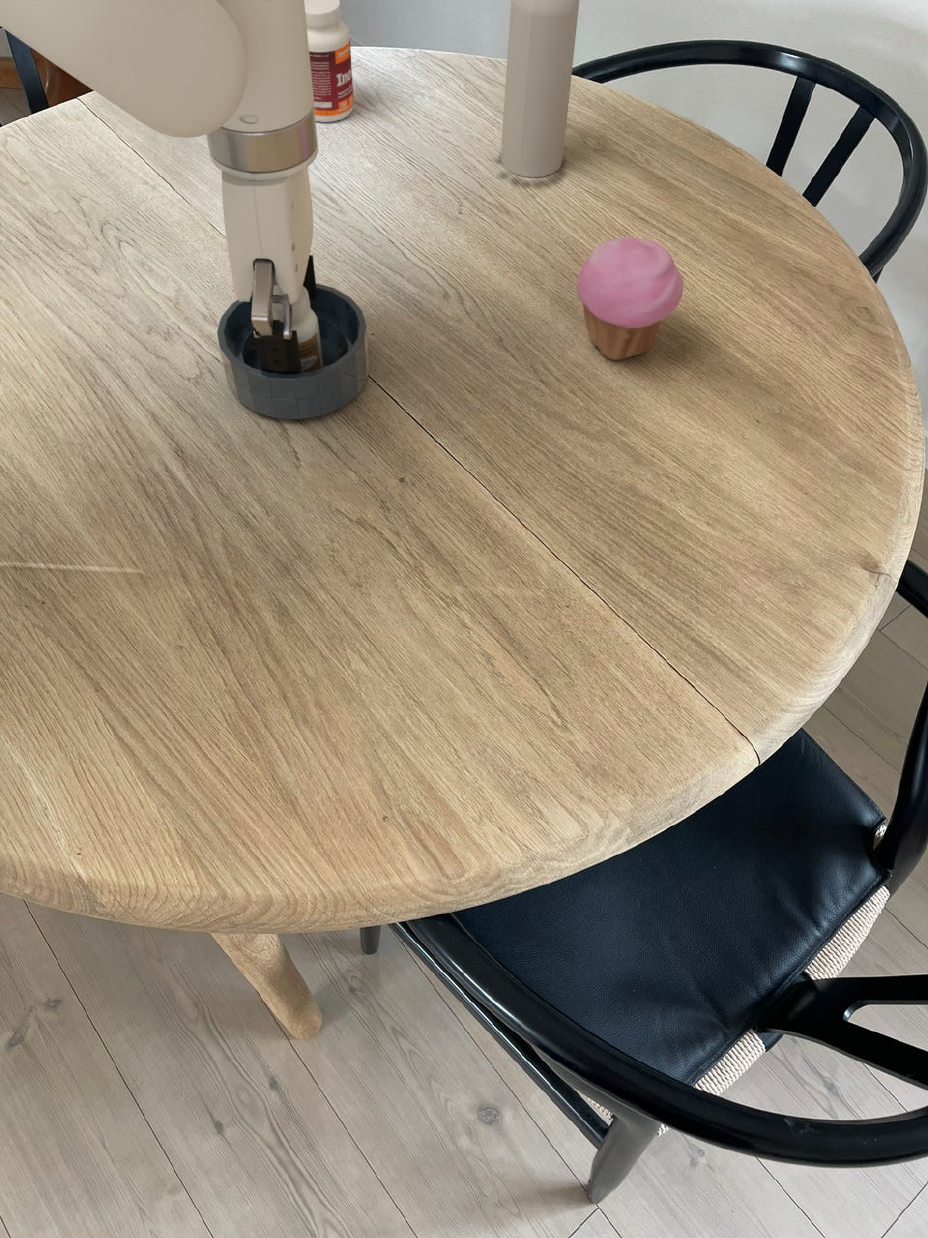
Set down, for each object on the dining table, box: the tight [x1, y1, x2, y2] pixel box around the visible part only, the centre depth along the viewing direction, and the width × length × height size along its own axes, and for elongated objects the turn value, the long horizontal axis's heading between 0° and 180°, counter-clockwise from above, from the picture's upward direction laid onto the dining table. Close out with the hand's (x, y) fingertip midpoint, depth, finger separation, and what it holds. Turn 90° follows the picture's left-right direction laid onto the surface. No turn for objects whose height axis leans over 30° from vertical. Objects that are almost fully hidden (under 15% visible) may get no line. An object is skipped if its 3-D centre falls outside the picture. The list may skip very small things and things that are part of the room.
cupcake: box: [576, 236, 684, 361], centre depth 84 cm, size 9×9×10 cm
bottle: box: [500, 0, 580, 178], centre depth 93 cm, size 7×7×28 cm
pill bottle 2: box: [304, 0, 355, 123], centre depth 104 cm, size 6×6×11 cm
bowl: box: [216, 282, 370, 420], centre depth 83 cm, size 12×12×5 cm
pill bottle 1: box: [272, 285, 323, 374], centre depth 81 cm, size 4×4×8 cm
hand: (290, 332), depth 81 cm, fingers open, 9 cm apart
